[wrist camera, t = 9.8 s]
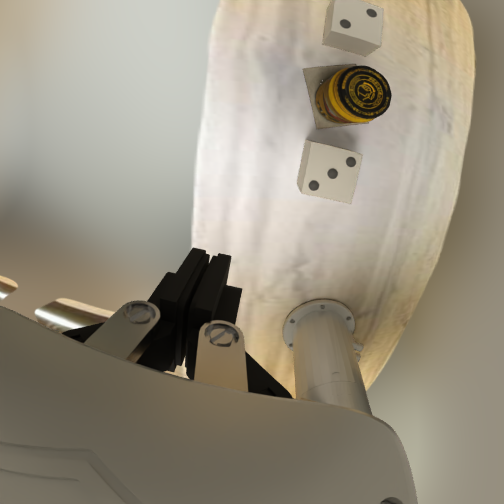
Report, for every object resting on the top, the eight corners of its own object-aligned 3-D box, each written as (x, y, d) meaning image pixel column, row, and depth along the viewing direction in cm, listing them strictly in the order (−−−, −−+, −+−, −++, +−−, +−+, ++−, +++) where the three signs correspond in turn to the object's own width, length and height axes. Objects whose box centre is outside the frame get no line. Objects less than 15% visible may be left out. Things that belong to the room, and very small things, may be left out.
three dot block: (349, 150, 33) (363, 154, 27) (339, 192, 36) (351, 204, 30) (305, 139, 33) (311, 141, 27) (296, 183, 35) (301, 193, 30)
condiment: (316, 129, 32) (338, 130, 21) (302, 69, 29) (317, 42, 18) (368, 123, 31) (409, 124, 20) (355, 64, 28) (390, 41, 17)
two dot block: (369, 23, 24) (384, 8, 19) (365, 57, 27) (381, 46, 21) (326, 10, 24) (335, -8, 19) (321, 44, 27) (331, 30, 21)
